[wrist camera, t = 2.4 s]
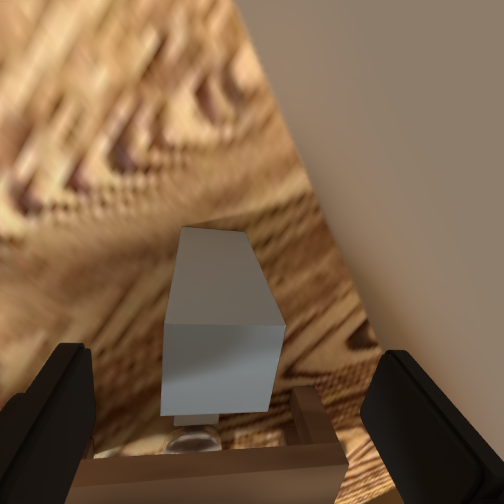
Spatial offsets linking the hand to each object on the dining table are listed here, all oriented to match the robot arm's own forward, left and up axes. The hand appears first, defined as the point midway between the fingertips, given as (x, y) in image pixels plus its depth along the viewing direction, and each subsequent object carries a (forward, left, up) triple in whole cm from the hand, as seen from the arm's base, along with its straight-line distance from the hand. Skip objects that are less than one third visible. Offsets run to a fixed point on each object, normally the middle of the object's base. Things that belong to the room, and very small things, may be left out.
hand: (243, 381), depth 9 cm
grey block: (-6, -2, -11) cm, 13 cm away
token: (-18, -6, -11) cm, 21 cm away
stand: (-15, -5, -11) cm, 19 cm away
